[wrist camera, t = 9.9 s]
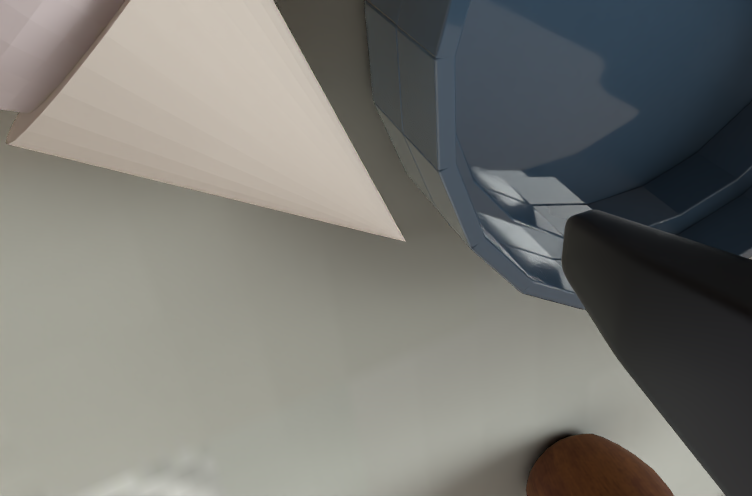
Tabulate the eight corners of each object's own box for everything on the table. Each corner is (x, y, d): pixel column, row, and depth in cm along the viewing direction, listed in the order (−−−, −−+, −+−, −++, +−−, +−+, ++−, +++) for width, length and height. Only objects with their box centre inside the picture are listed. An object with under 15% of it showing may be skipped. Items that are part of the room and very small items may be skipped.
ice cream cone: (352, 184, 22) (-202, -249, 14) (521, 105, 17) (-135, -579, 10) (296, 371, 18) (-466, -57, 11) (487, 329, 14) (-536, -425, 6)
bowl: (981, -446, 18) (1199, -479, 15) (786, 156, 29) (886, 213, 26) (321, -395, 14) (420, -428, 10) (385, 292, 25) (444, 382, 22)
